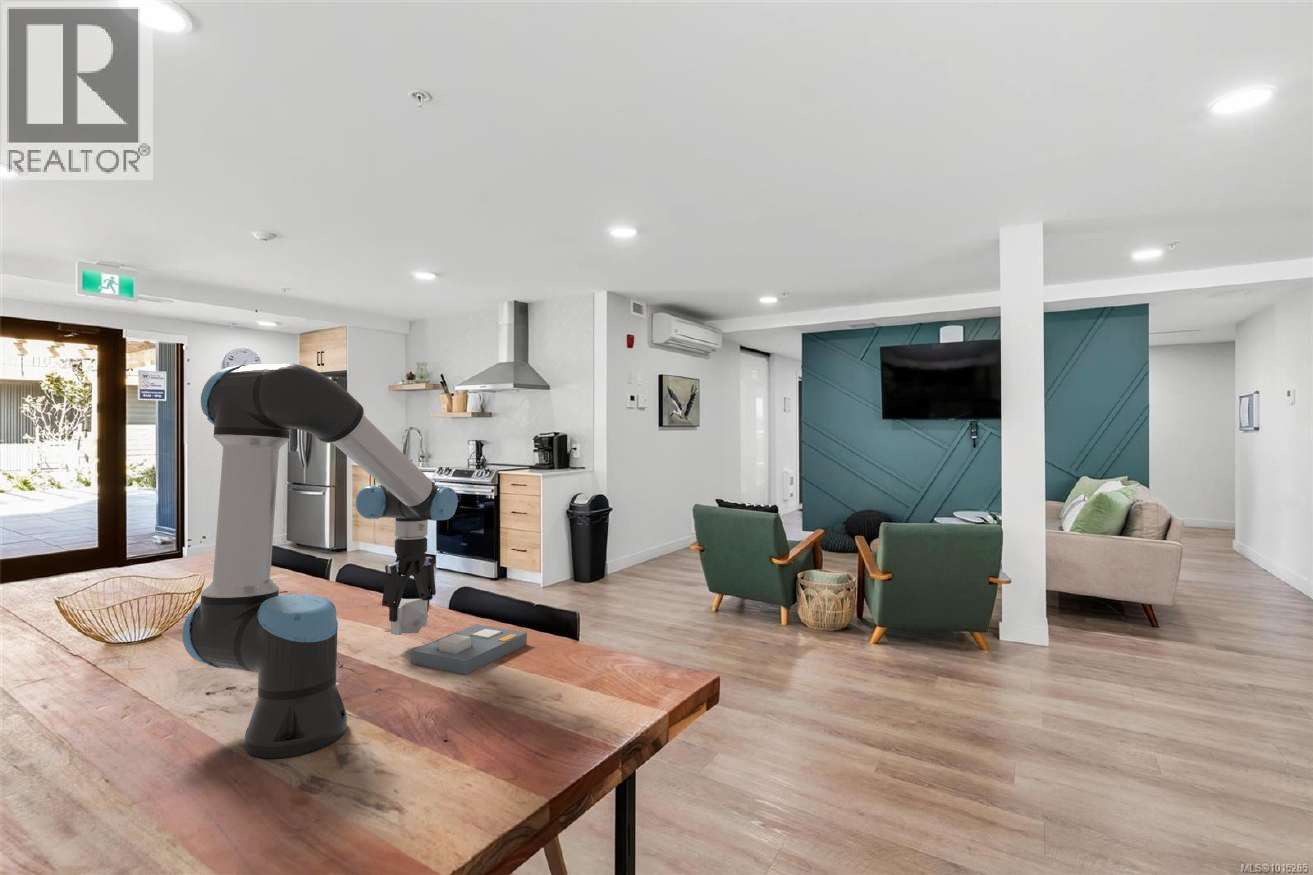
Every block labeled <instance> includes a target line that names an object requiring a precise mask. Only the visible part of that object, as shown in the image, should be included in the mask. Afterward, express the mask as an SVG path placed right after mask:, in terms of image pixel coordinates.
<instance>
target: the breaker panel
mask: <svg viewBox="0 0 1313 875" xmlns="http://www.w3.org/2000/svg"><path fill="white" fill-rule="evenodd" d="M484 629H490V630H496V631H501V634H500V635H498V636H496V637H493V638H491V639H489V640H487V639H481V638H475V637H472V634H474V633H476V632H479V631H481V630H484ZM453 634H457V635H463V636H469V637H471V648H468V649H466V650H464V651H462V652H459V653H457V654H453V653H448V652H443V651H439V640H441V639H443V638H446V637H448V636H451V635H453ZM527 634H528V633H527V632H525V631H520V630H513V629H507V628H506V629H505V628H500V627H494V626H488V625H482V624H477V623H476V624H474V625H471V626H469V627H466V628H463V629H461V630H459V631H456V632H454V633H451V634H448V635H446V636H443V637H440V638H438V639H435V640H432V641H430V642H428V643H425V644H423V645H420V646H419V647H415V648H413V649H411V650H410V664H412V665H416V664H418V666H421V665H422V666H421V667H425V668H431V669H435V668H436V670H441V671H444V672H445V671H446V672H450V673H454V674H459V673H460V674H459V675H464V676H465V675H467V674H470V673H472V672H474V671H476V670H478V669H479V668H483V667H484V666H486V665H488V664H491V663H493V662H494V661H496V660H498V659H500V658H502V657H504V655H505V656H506V655H509V654H510V653H513V652H514V651H517V650H518V649H521V648H523V647H525V646H527V642H528V641H527V640H528V639H527ZM522 646H523V647H522ZM477 668H478V669H477Z"/></svg>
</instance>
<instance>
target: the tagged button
mask: <svg viewBox="0 0 1313 875" xmlns="http://www.w3.org/2000/svg"><path fill="white" fill-rule="evenodd" d="M500 634H501V631H496V630H490V629H484V630H481V631H479V632H476V633H474V634H472V637H475V638H481V639H487V640H489V639H491V638H493V637H496V636H498V635H500Z"/></svg>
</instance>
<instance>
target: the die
mask: <svg viewBox="0 0 1313 875" xmlns="http://www.w3.org/2000/svg"><path fill="white" fill-rule="evenodd" d="M399 607H402V619H401V622H400V623H401V634H418V633H419V632H420V630H421V629H422V628H423V627H422V626H423V624H424V623H425V621H426V620H427V621H428V618H429V615H428V612H427V611H426V609H425V606H424V604H423V601H422V599H421V598H401V602H400V605H399Z"/></svg>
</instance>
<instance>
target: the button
mask: <svg viewBox="0 0 1313 875" xmlns="http://www.w3.org/2000/svg"><path fill="white" fill-rule="evenodd" d="M452 634H453V633H452ZM450 635H451V634H450ZM447 636H448V635H447ZM445 637H446V636H445ZM442 638H443V637H442ZM440 639H441V638H440ZM468 648H471V637H469V636H463V635H457V634H453V635H451V636H448V637H446V638H443V639H441V640H439V651H443V652H448V653H453V654H457V653H459V652H462V651H464V650H466V649H468Z"/></svg>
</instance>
